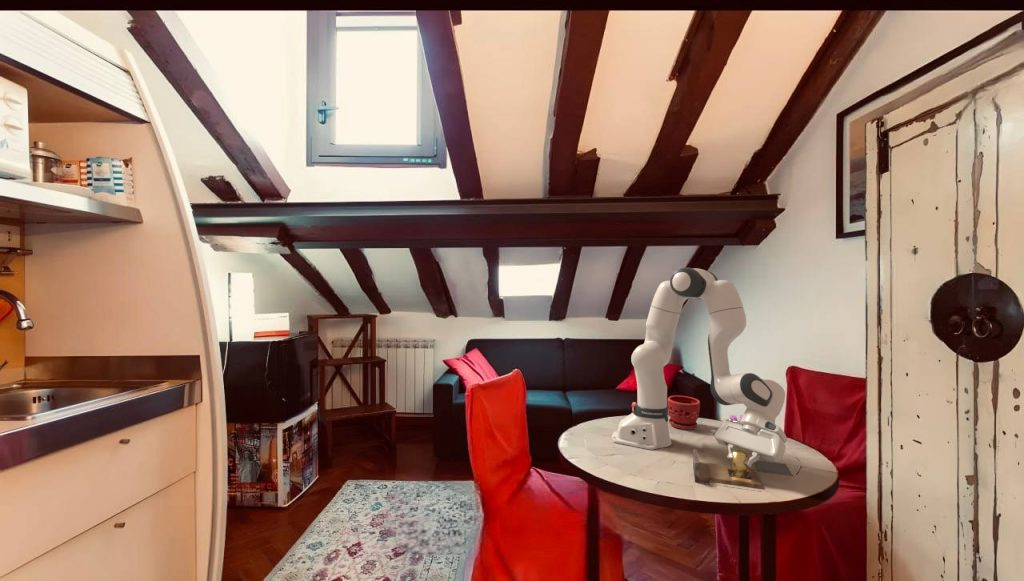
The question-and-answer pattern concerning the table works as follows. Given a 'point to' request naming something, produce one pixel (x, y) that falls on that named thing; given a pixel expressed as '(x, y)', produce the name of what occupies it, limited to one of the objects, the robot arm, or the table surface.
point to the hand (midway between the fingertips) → (738, 462)
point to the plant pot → (683, 411)
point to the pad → (772, 468)
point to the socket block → (721, 474)
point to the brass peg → (739, 464)
